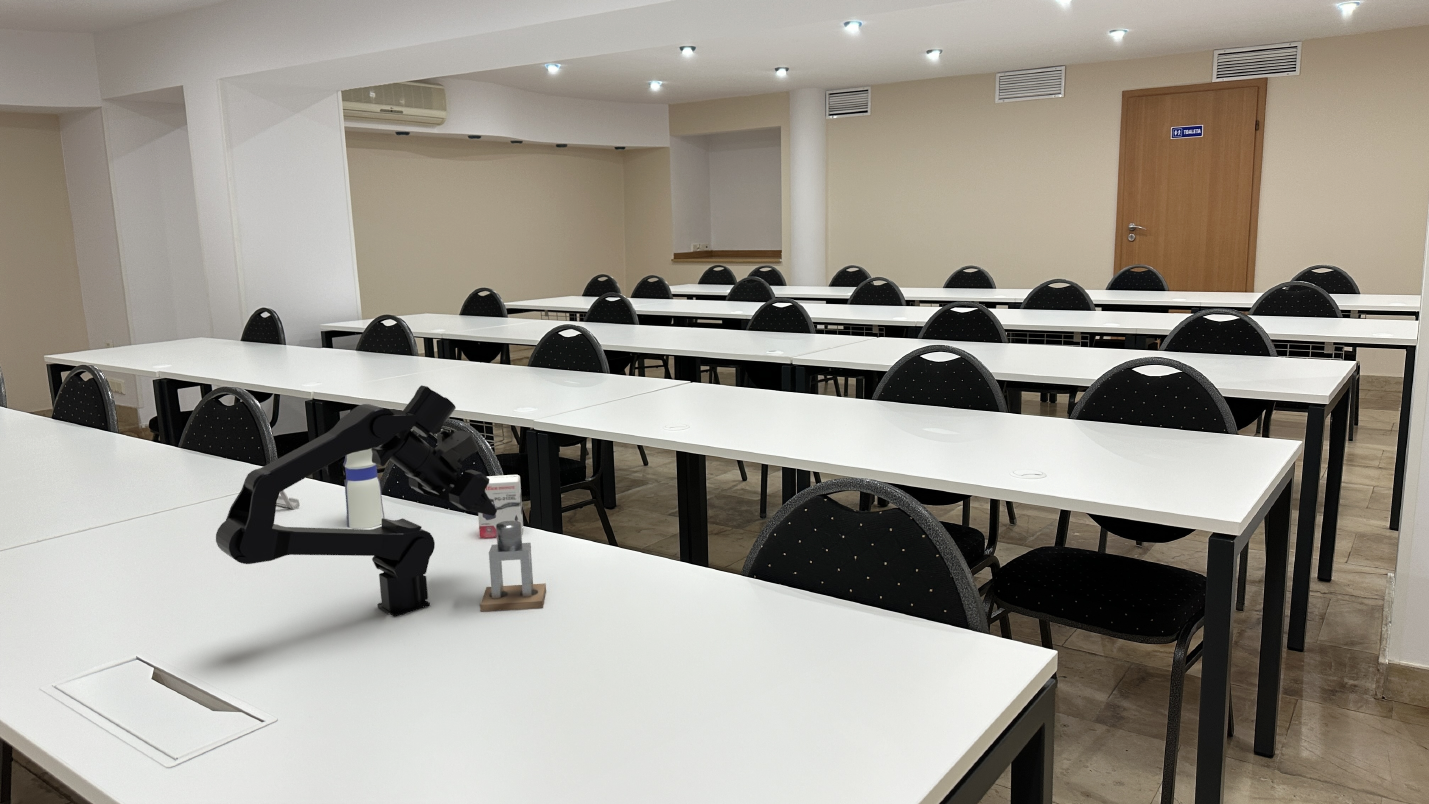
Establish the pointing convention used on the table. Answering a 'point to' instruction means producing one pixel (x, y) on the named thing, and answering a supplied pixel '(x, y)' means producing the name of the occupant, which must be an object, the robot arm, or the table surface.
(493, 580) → the dividers
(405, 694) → the table surface
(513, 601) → the bolt plate
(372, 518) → the water bottle
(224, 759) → the table surface
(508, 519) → the ink box
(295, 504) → the portable electronic device stand
